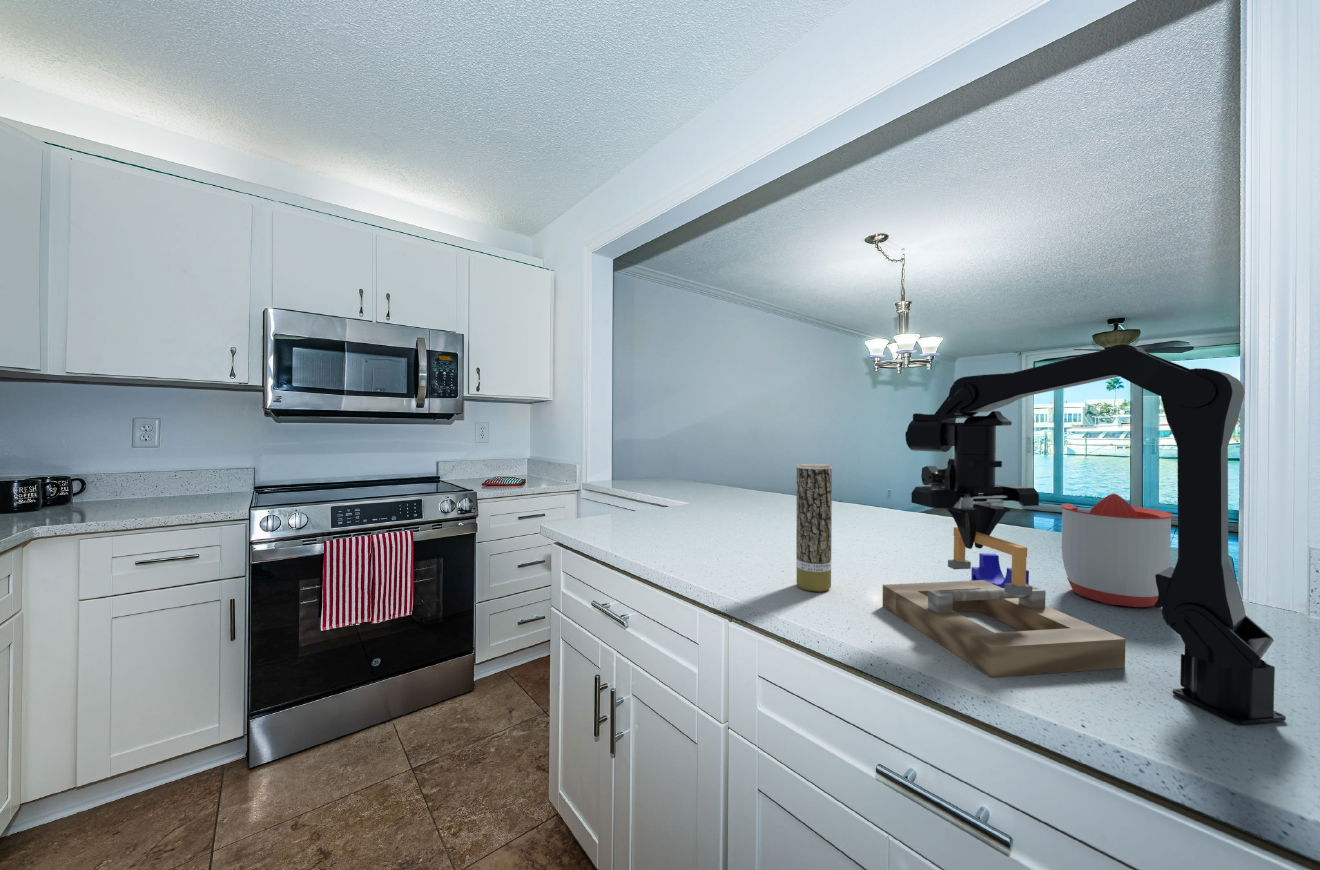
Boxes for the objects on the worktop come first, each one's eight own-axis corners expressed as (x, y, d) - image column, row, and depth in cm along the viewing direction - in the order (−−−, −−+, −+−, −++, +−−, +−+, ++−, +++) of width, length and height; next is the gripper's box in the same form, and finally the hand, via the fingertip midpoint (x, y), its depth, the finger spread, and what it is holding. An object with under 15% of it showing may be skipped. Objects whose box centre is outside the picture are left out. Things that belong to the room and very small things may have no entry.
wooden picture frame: (1124, 667, 66) (1125, 617, 66) (990, 677, 64) (991, 624, 64) (982, 601, 91) (983, 564, 91) (882, 606, 89) (882, 568, 89)
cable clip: (971, 580, 104) (971, 552, 103) (994, 581, 103) (994, 553, 103) (1002, 601, 92) (1002, 569, 92) (1028, 602, 91) (1028, 570, 91)
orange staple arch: (1032, 594, 71) (1033, 547, 71) (1013, 595, 71) (1014, 548, 70) (963, 565, 84) (964, 526, 84) (947, 566, 84) (948, 527, 84)
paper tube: (838, 590, 97) (839, 465, 97) (811, 594, 95) (811, 467, 94) (816, 580, 104) (816, 463, 103) (789, 584, 101) (789, 464, 101)
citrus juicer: (1114, 582, 101) (1116, 487, 101) (1198, 615, 84) (1201, 500, 84) (1034, 580, 103) (1036, 486, 103) (1100, 612, 86) (1102, 499, 85)
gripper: (988, 450, 89) (987, 535, 89) (892, 451, 87) (891, 538, 87) (1042, 454, 78) (1041, 551, 78) (934, 455, 76) (933, 555, 76)
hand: (973, 548), depth 80 cm, fingers closed on orange staple arch
